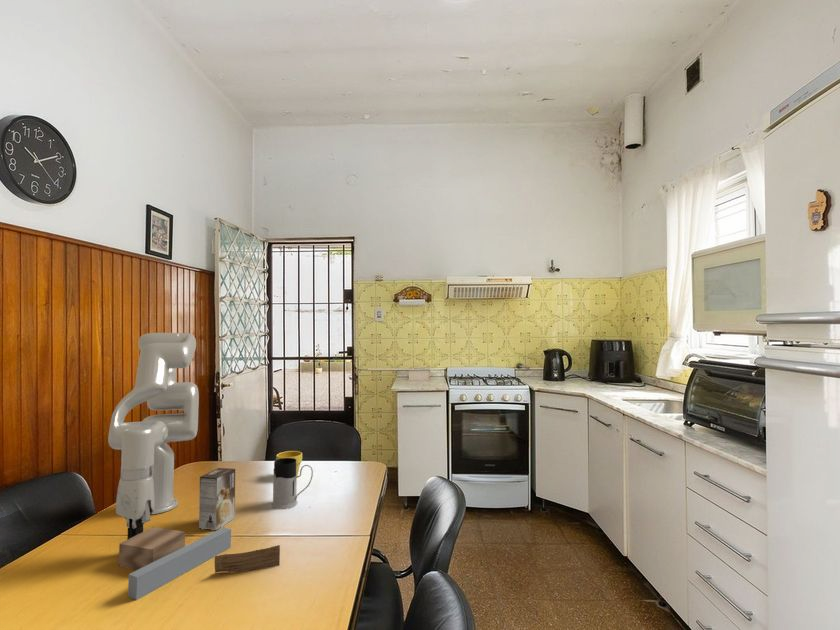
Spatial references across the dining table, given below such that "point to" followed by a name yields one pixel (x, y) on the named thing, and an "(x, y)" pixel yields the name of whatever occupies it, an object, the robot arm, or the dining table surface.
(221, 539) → the grey board
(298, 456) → the plant pot
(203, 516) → the coffee box
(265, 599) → the dining table surface
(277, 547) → the wood plank
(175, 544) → the walnut block
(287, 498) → the glass holder
